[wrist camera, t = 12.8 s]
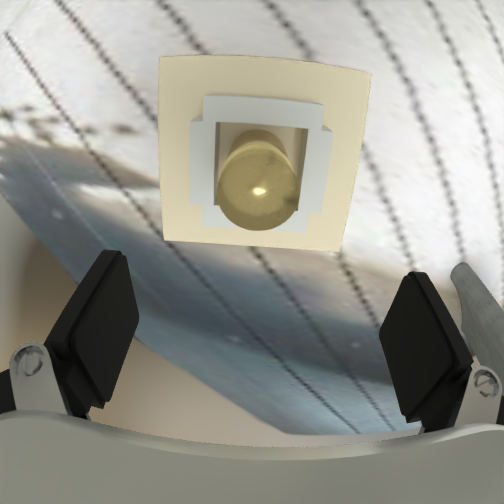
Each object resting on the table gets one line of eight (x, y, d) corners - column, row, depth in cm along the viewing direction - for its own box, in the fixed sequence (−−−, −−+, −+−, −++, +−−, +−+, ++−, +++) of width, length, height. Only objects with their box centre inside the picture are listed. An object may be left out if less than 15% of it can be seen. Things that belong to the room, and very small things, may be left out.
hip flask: (448, 270, 33) (524, 395, 16) (472, 254, 32) (554, 371, 15) (462, 333, 40) (508, 433, 23) (481, 321, 39) (531, 417, 22)
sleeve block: (162, 57, 22) (147, 55, 18) (368, 73, 22) (384, 74, 19) (166, 235, 31) (156, 256, 28) (337, 246, 32) (345, 268, 28)
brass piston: (229, 128, 25) (217, 152, 17) (288, 131, 25) (304, 157, 17) (228, 182, 27) (216, 228, 20) (283, 185, 27) (294, 233, 20)
